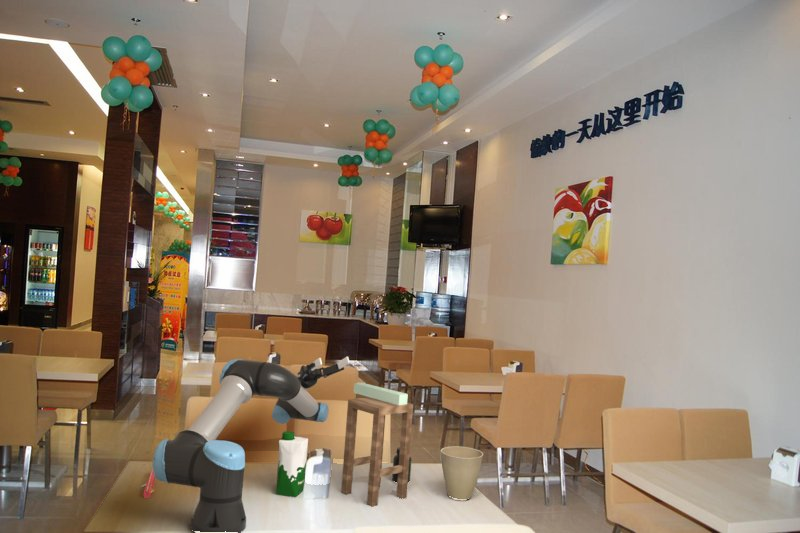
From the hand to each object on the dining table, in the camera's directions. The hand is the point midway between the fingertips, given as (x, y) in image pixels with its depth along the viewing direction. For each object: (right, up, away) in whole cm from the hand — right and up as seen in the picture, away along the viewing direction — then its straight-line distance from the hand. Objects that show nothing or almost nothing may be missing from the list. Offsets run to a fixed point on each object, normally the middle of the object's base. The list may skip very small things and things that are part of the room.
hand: (334, 360), depth 237 cm
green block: (+18, -11, -20) cm, 29 cm away
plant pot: (+46, -45, -23) cm, 68 cm away
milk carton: (-12, -40, -31) cm, 52 cm away
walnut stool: (+16, -42, -27) cm, 53 cm away
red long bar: (-59, -37, -33) cm, 77 cm away
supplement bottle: (+26, -44, -10) cm, 52 cm away
